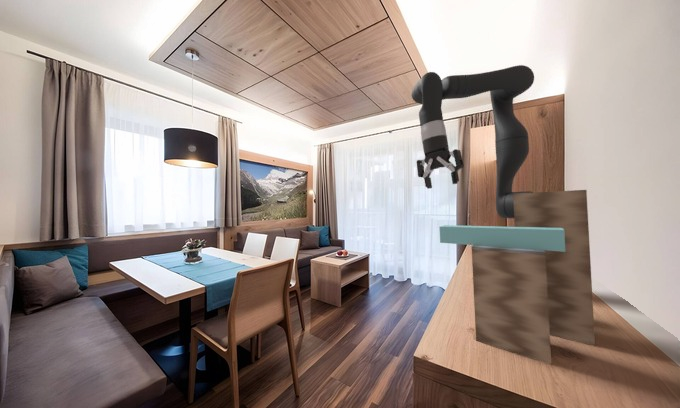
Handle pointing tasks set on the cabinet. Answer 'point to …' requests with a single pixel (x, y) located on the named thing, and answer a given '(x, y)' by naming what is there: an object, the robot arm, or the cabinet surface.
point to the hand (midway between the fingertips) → (441, 186)
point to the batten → (505, 237)
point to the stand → (564, 259)
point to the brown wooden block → (512, 300)
